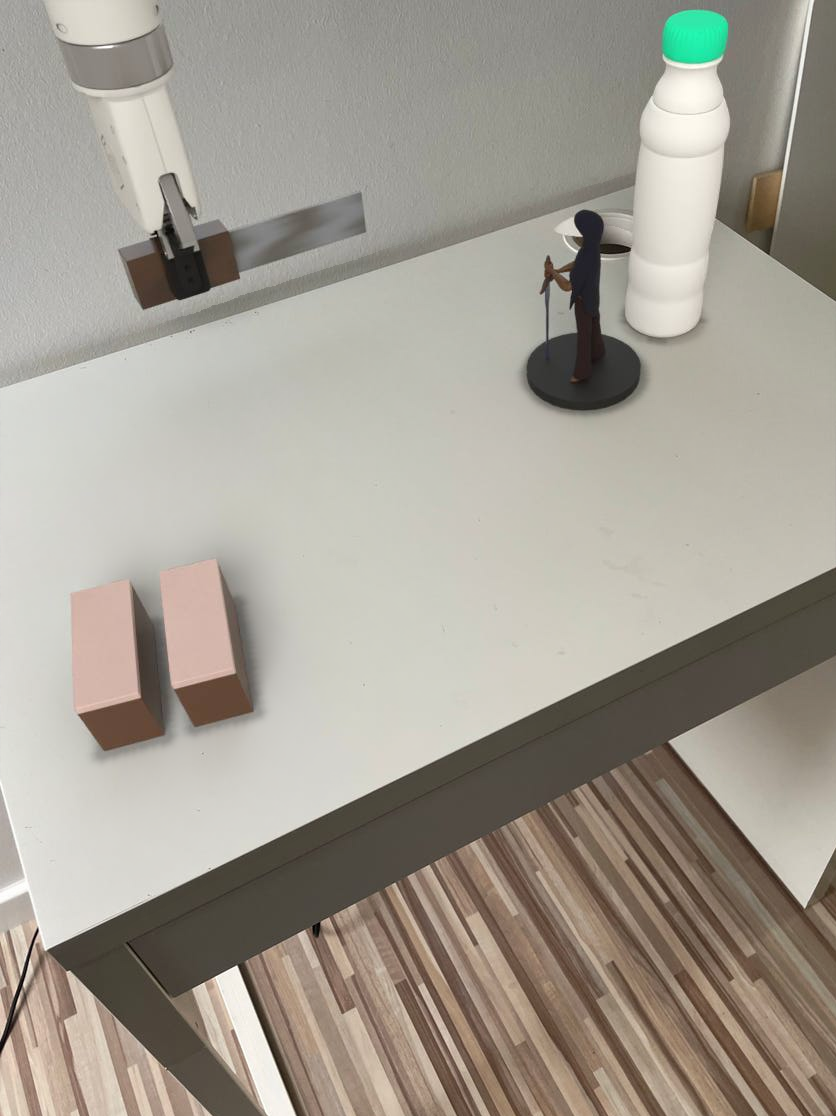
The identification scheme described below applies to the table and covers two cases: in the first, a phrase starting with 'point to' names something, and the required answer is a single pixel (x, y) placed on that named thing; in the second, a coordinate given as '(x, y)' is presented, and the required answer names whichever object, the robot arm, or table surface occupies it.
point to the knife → (245, 245)
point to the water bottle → (678, 178)
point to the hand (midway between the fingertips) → (186, 284)
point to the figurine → (582, 333)
